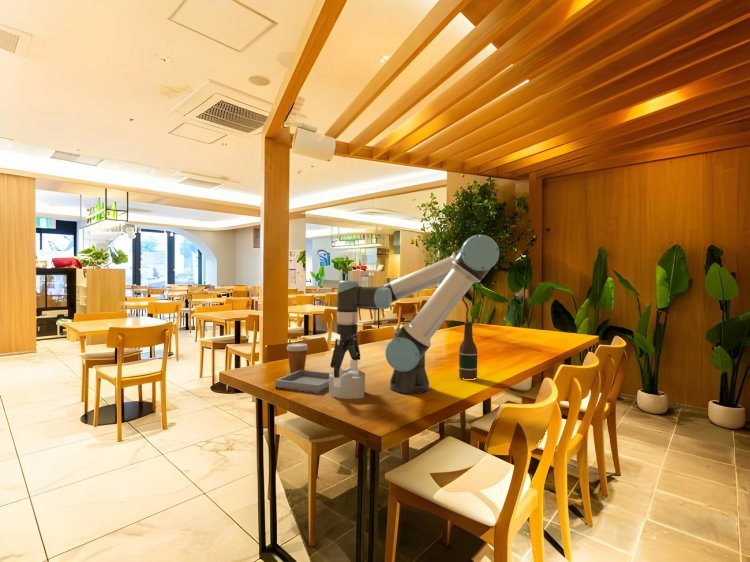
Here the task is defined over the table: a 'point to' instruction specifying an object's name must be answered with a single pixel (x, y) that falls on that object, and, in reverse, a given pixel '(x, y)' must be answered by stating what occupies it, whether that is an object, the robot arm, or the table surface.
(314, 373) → the charcoal tray
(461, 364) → the beer bottle
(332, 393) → the lumpy-topped squat cylinder
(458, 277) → the robot arm
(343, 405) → the table surface
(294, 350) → the disposable coffee cup
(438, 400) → the table surface
